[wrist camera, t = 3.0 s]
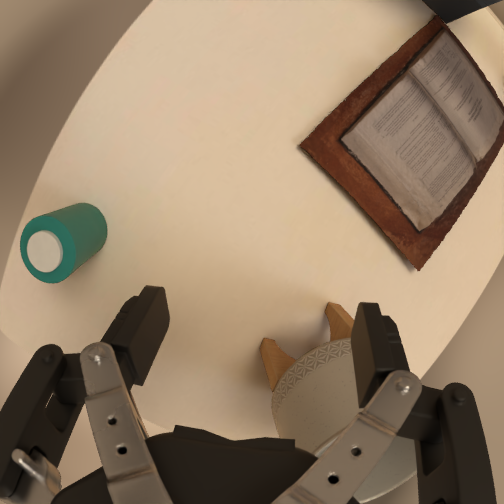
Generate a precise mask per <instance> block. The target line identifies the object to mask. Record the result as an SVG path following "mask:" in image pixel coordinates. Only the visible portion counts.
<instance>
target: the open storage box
mask: <svg viewBox="0 0 504 504" xmlns="http://www.w3.org/2000/svg"><path fill="white" fill-rule="evenodd" d="M423 1H424V2H425V3H426V4H427V5H428V6H429V7H430V8H431V9H432V10H433V11H434V12H435V13H436V14H437V15H438V16H439V17H440V18H441V19H442V20H443V21H444V22H445V23H446V24H447V23H449V22H452V21H454V20H456V19H458V18H460V17H463V16H465V15H467V14H470V13H472V12H474V11H477V10H479V9H481V8H484V7H487V6H489V5H491V4H494V3H497V2H499V1H502V0H423Z"/></svg>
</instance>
